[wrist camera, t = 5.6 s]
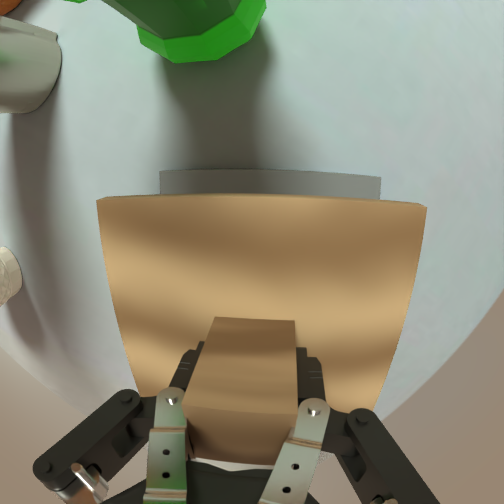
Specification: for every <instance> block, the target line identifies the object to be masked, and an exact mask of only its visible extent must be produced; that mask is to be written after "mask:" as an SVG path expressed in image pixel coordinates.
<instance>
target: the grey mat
mask: <svg viewBox="0 0 504 504" xmlns="http://www.w3.org/2000/svg"><path fill="white" fill-rule="evenodd" d="M159 172H160V194H200V193H244V194H289V195H314V196H333V197H350V198H364V199H377V200H380V187H381V177H375V176H365V175H355V174H343V173H329V172H314V171H294V170H264V169H201V170H170V171H159Z"/></svg>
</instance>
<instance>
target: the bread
mask: <svg viewBox="0 0 504 504" xmlns="http://www.w3.org/2000/svg"><path fill="white" fill-rule="evenodd" d="M21 1H22V0H0V15H1V16H3V15H5V14H6V13H8V12H9V11H11V10H12V9H14V8H16V7H17V5H18V4H19V3H20V2H21Z"/></svg>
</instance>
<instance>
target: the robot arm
mask: <svg viewBox="0 0 504 504" xmlns="http://www.w3.org/2000/svg"><path fill="white" fill-rule="evenodd" d="M56 37H57V33H55V32H52V31H49V30H46V29H43V28H40V27H37V26H34V25H31V24H28V23H25V22H22V21H18V20H15V19H11V18H8V17H4V16H0V113H11V114H16V113H29V112H32V111H34V110H36V109H37V108H38V107H39V106H40V105H41V104H42V103H43V102H44V101H45V100H46V98H47V97H48V95H49V94H50V92H51V90H52V88H53V86H54V84H55V82H56V79H57V77H58V74H59V70H60V65H61V50H60V46H59V45H58V43H57V41H56ZM204 343H205V341H200V342H199V343H198V346H197V348H196V350H192V349H189V350H188V351H187V352H186V353H184V354H183V356H182V358H181V360H180V363H179V365H178V367H177V369H176V371H175V373H174V375H173V378H172V380H171V382H170V384H169V387H168V388H165V389H163V390H161V391H160V392H159V393H158V395H157V396H152V397H140V395H139V394H138V393H137V392H136V391H134V390H131V389H124V390H121V391H119V392H117V393H116V394H115V395H113V396H112V397H111V398H110V399H109V400H107V401H106V402H105V403H104V404H103V405H102V406H100V407H99V408H98V409H97V410H96V411H94V412H93V413H92V414H91V415H90V416H88V417H87V418H86V419H85V420H84V421H82V422H81V423H80V424H79V425H78V426H77V427H75V428H74V429H73V430H72V431H70V432H69V433H68V434H67V435H66V436H64V437H63V438H62V439H61V440H59V441H58V442H57V443H56V444H55V445H54V446H52V447H51V448H50V449H48V450H47V451H46V452H45V453H44V454H42V455H41V456H40V457H39V458H37V459H36V460H35V462H34V464H33V473H34V475H35V476H36V477H37V478H38V479H39V480H40V481H41V482H42V483H43V484H44V485H45V486H46V487H47V488H48V489H49V490H50V491H51V492H52V493H53V494H55V495H56V496H57V497H58V498H59V499H61V500H63V501H64V502H65V503H66V504H319V503H318V502H317V501H316V500H315V499H314V498H313V497H312V495H311V494H310V493H308V490H309V487H310V484H311V481H312V478H313V475H314V471H315V468H316V465H317V461H318V458H319V454H320V451H325V452H329V453H334V454H335V456H336V457H337V459H338V461H339V463H340V465H341V467H342V468H343V470H344V472H345V474H346V476H347V477H348V479H349V481H350V483H351V485H352V486H353V488H354V490H355V492H356V493H357V495H358V497H359V499H360V501H361V503H362V504H440V503H439V502H438V500H437V499H436V497H435V496H434V494H433V493H432V492H431V490H430V489H429V488H428V486H427V485H426V483H425V482H424V481H423V479H422V478H421V476H420V475H419V474H418V473H417V471H416V470H415V468H414V467H413V465H412V464H411V463H410V461H409V460H408V458H407V457H406V456H405V454H404V453H403V452H402V450H401V449H400V447H399V446H398V445H397V443H396V442H395V440H394V439H393V438H392V436H391V435H390V434H389V432H388V431H387V430H386V428H385V427H384V425H383V424H382V423H381V421H380V420H379V418H378V417H377V416H376V414H375V413H374V412H373V411H371V410H369V409H366V408H357V409H354V410H352V411H351V412H350V413H344V412H340V411H336V410H334V409H333V408H331V407H330V406H329V405H328V403H327V402H326V397H325V389H324V381H323V373H322V366H321V363H320V361H319V360H318V359H317V357H307V348H306V347H296V364H297V395H298V417H297V422H296V427H291V430H290V433H289V435H288V438H286V440H285V442H284V444H283V447H282V449H281V452H280V454H279V457H278V459H277V461H276V464H275V466H274V469H248V470H239V471H228V470H225V469H222V468H219V467H216V466H213V465H211V464H208V463H203V462H197V461H196V454H195V447H194V444H192V443H191V439H190V436H189V432H188V421H187V418H186V417H184V414H183V410H182V406H181V403H182V400H183V398H184V395H185V392H186V390H187V387H188V384H189V382H190V379H191V377H192V374H193V371H194V369H195V366H196V364H197V361H198V358H199V356H200V353H201V351H202V348H203V346H204ZM148 441H149V445H148V459H147V478H146V479H145V480H143V481H141V482H139V483H137V484H136V485H134V486H132V487H131V488H129V489H127V490H125V491H123V492H121V493H119V494H117V495H115V496H113V497H111V498H109V499H107V500H105V501H103V499H104V498H105V497H106V495H107V492H108V483H107V482H108V481H109V480H111V479H112V478H113V477H114V476H115V475H116V474H117V472H119V470H121V469H122V468H123V467H124V465H125V464H126V463H127V462H129V461H130V459H131V458H132V457H133V456H134V455H135V454H136V453H137V452H138V451H139V450H140V449H141V448H142V447H143V446H144V445H145V444H146V443H147V442H148Z"/></svg>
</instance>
